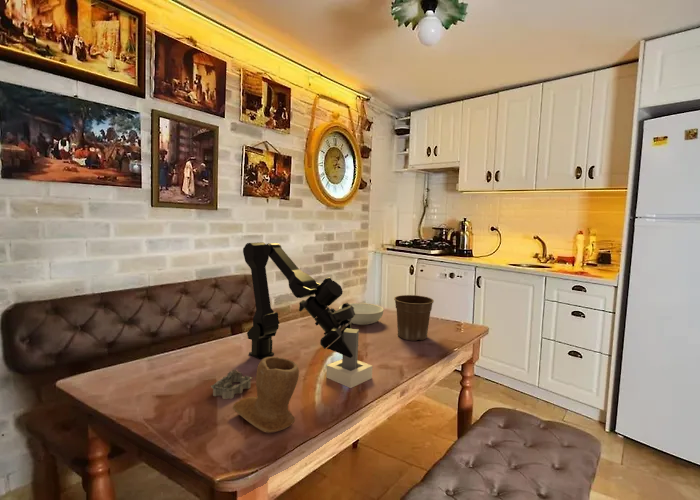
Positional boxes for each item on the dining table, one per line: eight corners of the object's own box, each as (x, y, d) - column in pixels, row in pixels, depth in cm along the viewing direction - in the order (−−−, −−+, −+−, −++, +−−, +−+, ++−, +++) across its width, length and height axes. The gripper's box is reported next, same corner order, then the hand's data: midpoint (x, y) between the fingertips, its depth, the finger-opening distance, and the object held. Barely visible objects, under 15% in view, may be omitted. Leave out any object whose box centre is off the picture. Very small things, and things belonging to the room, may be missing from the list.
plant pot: (388, 339, 159) (390, 300, 157) (396, 328, 174) (398, 293, 172) (429, 345, 154) (431, 305, 152) (433, 333, 169) (435, 297, 168)
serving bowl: (362, 314, 197) (363, 300, 196) (392, 324, 181) (392, 309, 180) (329, 320, 184) (329, 305, 183) (358, 331, 168) (358, 316, 167)
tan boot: (307, 423, 94) (309, 363, 93) (264, 442, 86) (266, 376, 84) (272, 400, 105) (273, 345, 103) (231, 414, 96) (231, 356, 95)
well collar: (350, 388, 113) (351, 375, 113) (326, 377, 120) (326, 365, 120) (371, 378, 121) (372, 365, 121) (347, 368, 128) (348, 356, 127)
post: (341, 379, 119) (343, 331, 118) (344, 374, 123) (346, 328, 121) (354, 381, 118) (356, 333, 117) (356, 376, 122) (358, 329, 121)
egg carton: (236, 381, 116) (236, 367, 116) (255, 387, 112) (255, 373, 112) (207, 394, 107) (207, 380, 106) (227, 402, 103) (227, 387, 103)
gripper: (332, 303, 110) (369, 345, 109) (346, 290, 128) (378, 326, 127) (304, 327, 112) (340, 369, 111) (322, 311, 130) (353, 347, 129)
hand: (354, 351), depth 119 cm, fingers open, 9 cm apart
